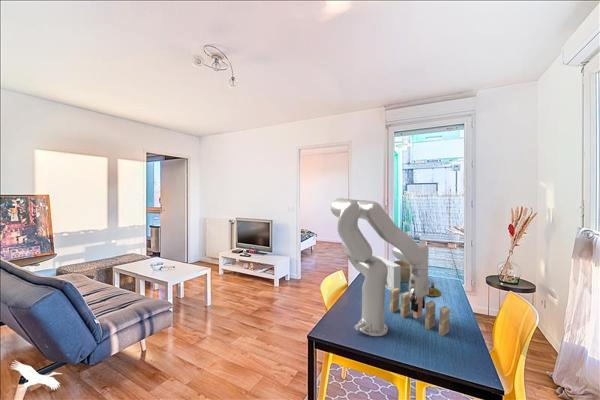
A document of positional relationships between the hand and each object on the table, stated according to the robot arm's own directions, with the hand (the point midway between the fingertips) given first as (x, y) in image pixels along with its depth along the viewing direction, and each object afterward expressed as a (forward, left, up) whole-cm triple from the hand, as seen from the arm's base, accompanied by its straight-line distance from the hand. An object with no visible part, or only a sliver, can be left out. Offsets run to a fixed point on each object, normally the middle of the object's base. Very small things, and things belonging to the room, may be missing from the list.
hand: (417, 308), depth 120 cm
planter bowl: (+42, +32, -6) cm, 53 cm away
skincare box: (+24, +34, -6) cm, 42 cm away
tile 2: (0, 0, -3) cm, 3 cm away
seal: (+37, +12, -6) cm, 39 cm away
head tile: (0, +12, -6) cm, 13 cm away
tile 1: (0, +6, -6) cm, 8 cm away
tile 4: (0, -12, -6) cm, 13 cm away
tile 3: (0, -6, -6) cm, 8 cm away
